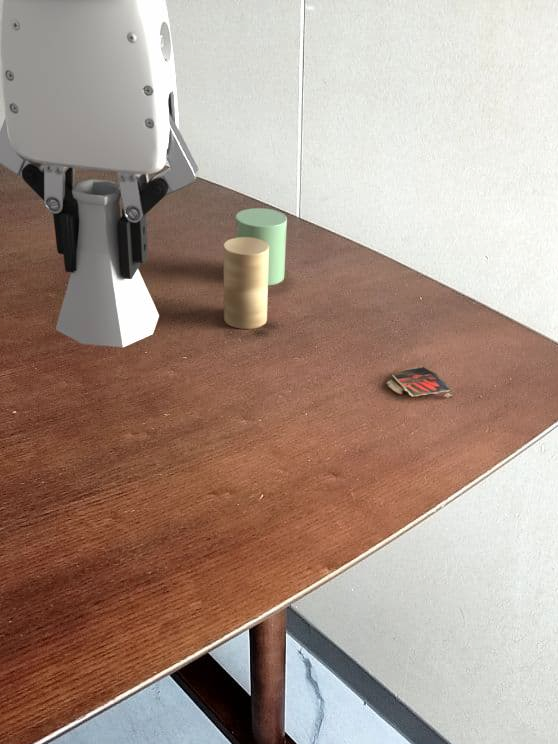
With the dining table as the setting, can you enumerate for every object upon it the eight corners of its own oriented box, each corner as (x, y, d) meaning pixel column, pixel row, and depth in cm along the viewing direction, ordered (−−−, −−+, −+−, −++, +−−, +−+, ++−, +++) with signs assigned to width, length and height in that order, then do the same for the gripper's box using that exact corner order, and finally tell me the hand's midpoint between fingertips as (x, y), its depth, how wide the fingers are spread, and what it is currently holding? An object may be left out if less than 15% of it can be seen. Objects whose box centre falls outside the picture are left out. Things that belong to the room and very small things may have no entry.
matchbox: (419, 366, 75) (420, 361, 75) (460, 393, 72) (461, 388, 72) (378, 380, 73) (379, 375, 73) (418, 408, 70) (419, 403, 70)
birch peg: (220, 326, 79) (220, 252, 75) (227, 307, 82) (227, 235, 78) (263, 330, 79) (265, 256, 75) (269, 311, 82) (271, 239, 78)
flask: (128, 359, 60) (119, 216, 54) (37, 335, 62) (18, 193, 55) (175, 317, 65) (172, 181, 59) (91, 295, 67) (78, 161, 60)
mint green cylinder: (231, 283, 86) (232, 223, 83) (239, 264, 90) (240, 205, 86) (281, 288, 86) (283, 228, 82) (287, 268, 90) (289, 210, 86)
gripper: (234, -40, 51) (229, 259, 63) (-38, -69, 52) (8, 234, 64) (212, -20, 46) (210, 305, 58) (-94, -53, 46) (-32, 277, 58)
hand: (104, 265), depth 60 cm, fingers closed on flask, 3 cm apart
